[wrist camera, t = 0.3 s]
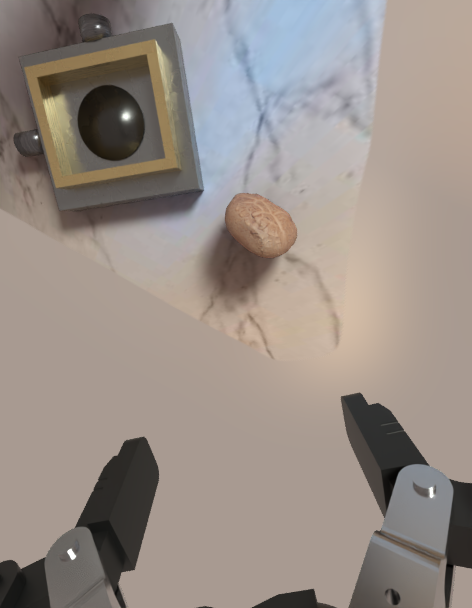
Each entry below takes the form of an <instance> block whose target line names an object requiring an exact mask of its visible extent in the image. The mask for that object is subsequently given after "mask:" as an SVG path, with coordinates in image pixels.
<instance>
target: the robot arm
mask: <svg viewBox="0 0 472 608" xmlns="http://www.w3.org/2000/svg"><path fill="white" fill-rule="evenodd" d="M341 402H342V408H343V414H344V420H345V426H346V431H347V435H348V438H349V441H350V443H351V446H352V448H353V450H354V453H355V455H356V457H357V459H358V461H359V464H360V466H361V468H362V470H363V472H364V474H365V477H366V479H367V481H368V483H369V486H370V488H371V490H372V492H373V494H374V496H375V499H376V501H377V503H378V505H379V507H380V510H381V512H382V514H383V516H384V518H385V519H384V522H383V526H382V528H381V530H380V532H379V531H375V532H374V533H373V535H372V537H371V540H370V543H369V546H368V549H367V552H366V555H365V558H364V562H363V565H362V568H361V571H360V574H359V577H358V580H357V583H356V586H355V590H354V593H353V595H352V599H351V602H350V605H349V608H451V604H452V594H453V586H454V577H455V568H456V566H461V567H466V568H472V483H463V482H458V481H454V480H451V479H448V478H447V477H446V476H445V475H444V474H443V473H442V472H440V471H439V470H437V469H435V468H433V467H430V466H429V464H428V463H427V462H426V460H425V459H424V457H423V456H422V455H421V453H420V452H419V450H418V449H417V448H416V446H415V445H414V443H413V442H412V441H411V439H410V438H409V436H408V435H407V434H406V432H404V429H403V428H402V426H401V425H400V424H399V423H398V421H397V420H396V418H395V417H394V415H393V414H392V412H391V411H390V410H388V409H387V408H385V407H384V406H382V405H381V404H379V403H376V404H372V405H368V404H367V402H366V400H365V399H364V397H363V395H362V394H361V393H356V394H351V395H346V396H341ZM98 480H99V481H98V482H97V483H96V485H95V487H94V491H93V492H92V494H91V496H90V498H89V500H88V502H87V504H86V506H85V508H84V510H83V512H82V514H81V516H80V518H79V520H78V522H77V524H76V527H75V528H74V529H71V530H70V531H68V532H66V533H65V534H63V535H62V536H61V537H60V538H59V539H58V540H57V541H56V542H55V543H54V544H53V545H52V547H51V548H50V550H49V551H48V554H47V555H46V557H45V558H43V559H41V560H39V561H36V562H34V563H32V564H30V565H28V566H26V567H24V568H22V569H20V567H19V566H18V564H17V563H16V562H15V561H13V560H7V561H3V562H1V563H0V608H128V605H127V602H126V600H125V597H124V594H123V592H122V589H121V587H120V585H119V583H118V582H119V579H120V576H121V572H125V571H131V570H135V566H136V562H137V559H138V555H139V551H140V548H141V544H142V540H143V537H144V533H145V529H146V526H147V522H148V518H149V514H150V511H151V507H152V503H153V500H154V496H155V492H156V488H157V485H158V481H159V470H158V466H157V463H156V460H155V458H154V456H153V453H152V451H151V448H150V446H149V444H148V441H147V439H146V438H145V437H140V438H135V439H130V440H126V441H125V442H124V443H123V446H122V447H121V450H120V452H119V454H118V456H114V457H113V458H112V459H111V460H110V461H109V462H108V463H107V465H106V466H105V467H104V469H103V471H102V473H101V475H100V477H99V479H98ZM198 608H212V607H206V606H205V607H198ZM252 608H336V607H334V606H330V605H327V604H323V603H318V602H317V599H316V595H315V591H314V589H310V590H303V591H298V592H291V593H285V594H279V595H276V596H274V597H272V598H270V599H268V600H266V601H264V602H262V603H260V604H258V605H256V606H254V607H252Z"/></svg>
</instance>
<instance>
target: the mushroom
mask: <svg viewBox="0 0 472 608" xmlns="http://www.w3.org/2000/svg"><path fill="white" fill-rule="evenodd" d="M225 223H226V227H227V229H228V231H229V232H230V234H231V235H232V236H233V237H234V238H235V239H236V240H237V241H238V242H239V243H240V244H241V245H243V246H244V247H245V248H246V249H247V250H249V251H250V252H252V253H254V254H256V255H258V256H260V257H265V258H274V257H277V256H280V255H282V254H284V253H286V252H287V251H288V250H289V249H290V247H291V246H292V245H293V244H294V243H295V241H296V238H297V228H296V226H295V224H294V222H293V221H292V219H291V217H290V215H289V214H288V213H287V212H286V211H285V210H283V209H282V208H280V207H279V206H276V205H275V204H273V203H272V202H270V201H269V200H267V199H266V198H264V197H262V196H260V195H258V194H249V193H240V194H237V195H235V197H234V198H233V199H232V201H231V202H230V203H229V205H228V206H227V208H226V213H225Z"/></svg>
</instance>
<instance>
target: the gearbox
mask: <svg viewBox="0 0 472 608" xmlns="http://www.w3.org/2000/svg"><path fill="white" fill-rule="evenodd" d="M78 24H79V28H80V33H81V37H82V42H83V43H79V44H75V45H70V46H66V47H61V48H56V49H52V50H47V51H43V52H38V53H34V54H29V55H25V56H20V57H19V60H20V64H21V68H22V72H23V75H24V79H25V83H26V87H27V91H28V94H29V98H30V102H31V106H32V109H33V113H34V117H35V121H36V125H37V128H38V129H35V130H30V131H25V132H20V133H15V134H14V144H15V146H16V148H17V150H18V151H19V152H20V154H22V155H23V156H25V157H29V156H35V155H40V154H44V155H45V158H46V162H47V166H48V170H49V174H50V177H51V181H52V185H53V189H54V192H55V196H56V200H57V204H58V208H59V211H79V210H86V209H92V208H98V207H104V206H110V205H117V204H123V203H129V202H135V201H141V200H148V199H154V198H160V197H166V196H173V195H179V194H185V193H191V192H197V191H204V187H203V181H202V175H201V169H200V162H199V156H198V150H197V143H196V137H195V131H194V124H193V118H192V112H191V106H190V99H189V93H188V87H187V80H186V74H185V68H184V61H183V55H182V49H181V43H180V39H179V36H178V34H177V32H176V30H175V27H174V25H173V23H170V24H165V25H161V26H156V27H152V28H147V29H143V30H138V31H134V32H129V33H124V34H120V35H115V36H112V31H111V26H110V22H109V20H108V19H107V18H105V17H104V16H101V15H98V14H86V15H83V16H82V17H80V18H79V20H78Z"/></svg>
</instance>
